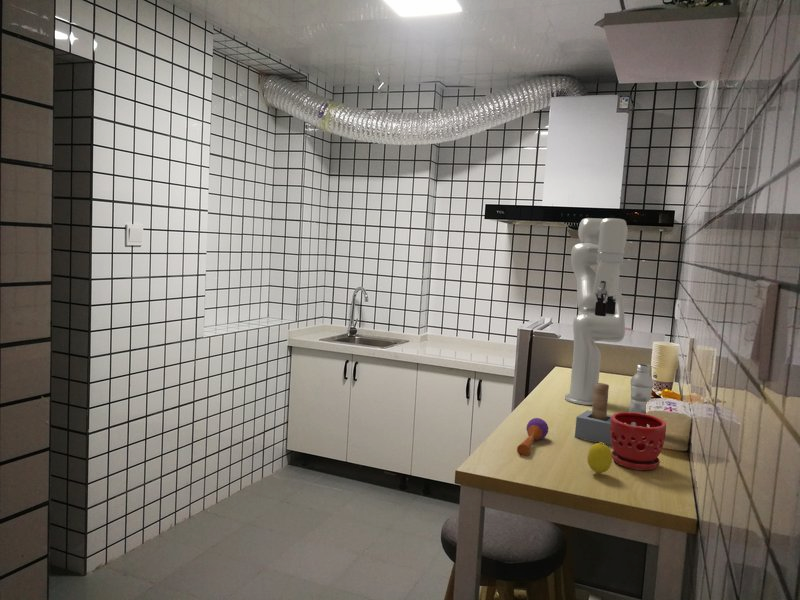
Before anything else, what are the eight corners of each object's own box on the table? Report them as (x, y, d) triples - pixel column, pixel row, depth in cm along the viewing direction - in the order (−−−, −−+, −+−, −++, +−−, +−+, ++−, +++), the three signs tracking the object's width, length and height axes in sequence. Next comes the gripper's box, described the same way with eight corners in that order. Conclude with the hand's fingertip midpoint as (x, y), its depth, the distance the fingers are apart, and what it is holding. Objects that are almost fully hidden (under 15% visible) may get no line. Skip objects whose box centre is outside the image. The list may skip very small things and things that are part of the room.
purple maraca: (510, 439, 157) (528, 415, 175) (513, 461, 158) (530, 435, 176) (533, 439, 155) (548, 415, 173) (536, 461, 155) (551, 435, 173)
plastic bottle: (651, 433, 183) (658, 368, 181) (627, 430, 184) (634, 366, 183) (647, 427, 189) (653, 364, 188) (624, 424, 191) (630, 362, 189)
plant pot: (603, 452, 163) (607, 409, 161) (654, 458, 160) (659, 414, 159) (611, 470, 150) (616, 422, 149) (667, 477, 148) (672, 428, 146)
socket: (585, 429, 183) (587, 410, 182) (619, 437, 177) (621, 417, 177) (574, 437, 175) (576, 416, 174) (610, 445, 169) (612, 424, 169)
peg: (593, 428, 179) (596, 382, 177) (606, 431, 177) (610, 384, 175) (588, 432, 176) (592, 384, 174) (602, 435, 173) (606, 386, 172)
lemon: (613, 475, 146) (617, 442, 146) (604, 480, 142) (607, 447, 142) (592, 468, 150) (595, 436, 149) (582, 473, 146) (585, 441, 145)
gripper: (605, 258, 195) (600, 311, 196) (589, 258, 181) (583, 315, 182) (629, 260, 191) (624, 314, 192) (614, 259, 176) (609, 318, 178)
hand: (604, 314), depth 187 cm, fingers open, 9 cm apart
